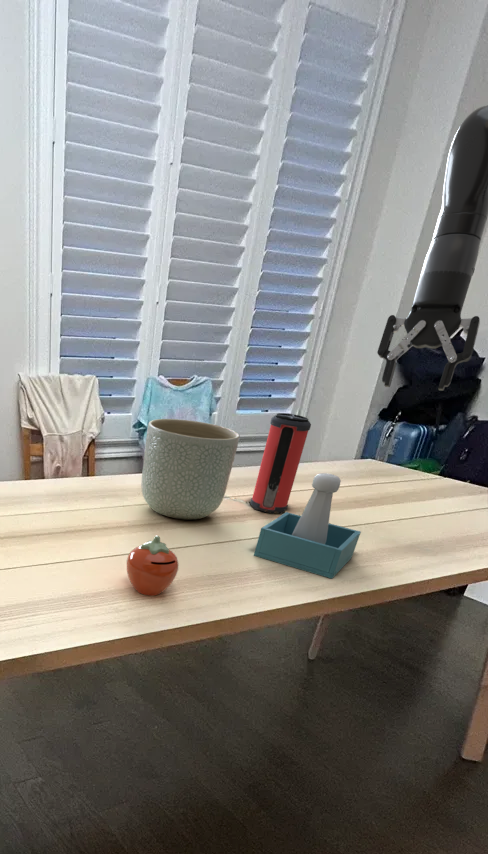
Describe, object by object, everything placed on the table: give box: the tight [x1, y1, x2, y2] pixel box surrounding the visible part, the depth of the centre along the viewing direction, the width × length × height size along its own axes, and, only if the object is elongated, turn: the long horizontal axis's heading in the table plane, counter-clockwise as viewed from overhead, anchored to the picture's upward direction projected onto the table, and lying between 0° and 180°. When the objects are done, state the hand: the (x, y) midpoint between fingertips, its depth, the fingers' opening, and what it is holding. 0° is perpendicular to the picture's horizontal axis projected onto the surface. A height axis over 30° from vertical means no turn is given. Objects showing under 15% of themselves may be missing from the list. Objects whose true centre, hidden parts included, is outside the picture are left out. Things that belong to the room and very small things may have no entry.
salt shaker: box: [292, 472, 342, 544], centre depth 107 cm, size 6×6×13 cm
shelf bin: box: [253, 511, 362, 579], centre depth 109 cm, size 14×14×5 cm
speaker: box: [249, 412, 312, 515], centre depth 129 cm, size 8×8×18 cm
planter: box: [140, 418, 241, 521], centre depth 121 cm, size 17×17×15 cm
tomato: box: [126, 535, 180, 597], centre depth 89 cm, size 7×7×8 cm
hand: (413, 388), depth 107 cm, fingers open, 8 cm apart
